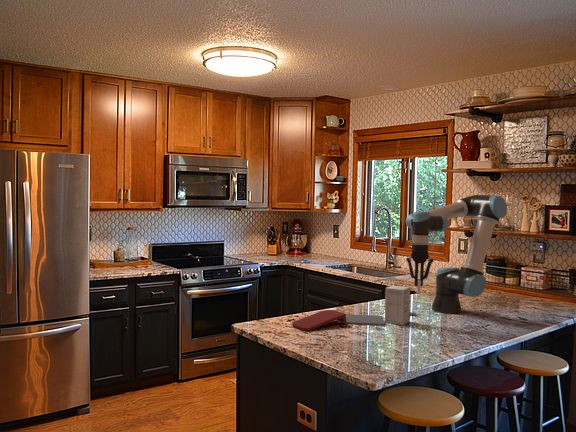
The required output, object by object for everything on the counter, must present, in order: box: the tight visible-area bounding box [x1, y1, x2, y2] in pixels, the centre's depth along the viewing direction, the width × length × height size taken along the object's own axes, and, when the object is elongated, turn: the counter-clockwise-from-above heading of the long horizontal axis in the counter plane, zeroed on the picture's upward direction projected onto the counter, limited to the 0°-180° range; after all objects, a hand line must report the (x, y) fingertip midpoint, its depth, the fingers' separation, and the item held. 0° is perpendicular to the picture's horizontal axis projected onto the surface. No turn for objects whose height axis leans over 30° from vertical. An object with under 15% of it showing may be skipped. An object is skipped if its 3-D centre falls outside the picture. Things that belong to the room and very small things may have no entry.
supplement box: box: [384, 285, 411, 326], centre depth 251 cm, size 10×9×17 cm
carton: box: [291, 309, 347, 332], centre depth 241 cm, size 12×5×25 cm
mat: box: [343, 313, 386, 326], centre depth 252 cm, size 16×20×1 cm
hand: (418, 292), depth 249 cm, fingers closed
